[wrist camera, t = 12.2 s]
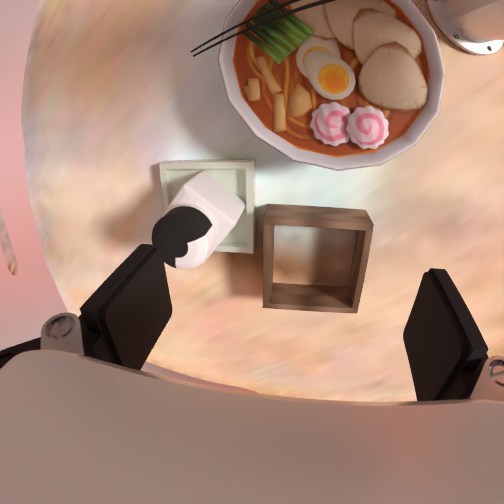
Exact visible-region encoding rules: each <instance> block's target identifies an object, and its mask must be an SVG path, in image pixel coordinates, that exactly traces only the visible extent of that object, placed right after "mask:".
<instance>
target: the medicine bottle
mask: <svg viewBox="0 0 504 504" xmlns="http://www.w3.org/2000/svg"><path fill="white" fill-rule="evenodd" d="M245 206H246V203H245V202H244V201H243V200H242V199H240V198H239V197H238V196H237V195H235V194H234V193H233V192H232V191H230V190H229V189H228V188H226V187H225V186H224V185H223V184H221V183H220V182H219V181H217V180H216V179H215V178H214V177H212V176H211V175H210V174H208V173H207V172H206V171H201V172H200V173H198V174H197V175H196V176H194V177H193V178H191V179H190V180H189V181H187V182H186V183H184V184H183V185H182V187H181V188H180V190H179V191H178V193H177V194H176V196H175V197H174V199H173V200H172V202H171V203H170V205H169V206H168V208H167V209H166V211H165V212H164V214H163V215H162V217H161V219H160V220H159V221H158V222H157V223H156V224H155V226H154V228H153V231H152V243H153V245H156V246H157V247H158V249H160V250H161V251H162V253H163V259H164V262H165V263H166V264H168V265H170V266H172V267H174V268H177V269H184V270H186V269H192V268H195V267H197V266H199V265H202V264H203V263H204V262H205V261H206V260H207V259H208V257H209V256H210V255H211V254H212V252H213V251H214V250H215V249H216V248H217V246H218V245H219V244H220V243H221V242H222V241H223V239H224V238H225V237H226V236H227V235H228V233H229V232H230V231H231V230H232V229H233V227H234V226H235V225H236V223H237V221H238V219H239V218H240V216H241V214H242V212H243V210H244V208H245Z"/></svg>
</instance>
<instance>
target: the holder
mask: <svg viewBox="0 0 504 504" xmlns="http://www.w3.org/2000/svg"><path fill="white" fill-rule="evenodd" d="M274 225H287V226H304V227H320V228H336V229H350V230H357V235H356V242H355V249H354V256H353V262H352V268H351V274H350V280H349V286H348V287H331V286H314V285H298V284H283V283H273V253H274ZM373 225H374V224H373V223H372V221H371V219H370V217H369V215H368V213H367V212H366V210H359V209H346V208H332V207H316V206H300V205H281V204H268V206H267V209H266V212H265V215H264V232H263V308H273V309H287V310H301V311H318V312H337V313H357V311H358V306H359V302H360V297H361V292H362V288H363V283H364V278H365V272H366V267H367V262H368V256H369V250H370V245H371V238H372V232H373Z"/></svg>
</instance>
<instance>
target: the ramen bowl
mask: <svg viewBox="0 0 504 504" xmlns="http://www.w3.org/2000/svg"><path fill="white" fill-rule="evenodd" d="M220 36H222V39H221V41H219V42H217V43H215V44H213V45H211V46H209V47H208V48H206V49H204V50H202V51H200V52H198V53H197V54H195V55H193V57H194V56H196V55H198V54H200V53H202V52H204V51H206V50H208V49H210V48H212V47H214V46H216V45H218V44H220V43H221V45H220V51H219V57H218V62H219V66H220V70H221V74H222V78H223V82H224V86H225V90H226V94H227V98H228V101H229V102H230V104H231V105H232V106H233V108H234V109H235V110H236V111H237V113H238V114H239V115H240V117H241V118H242V119H243V120H244V122H245V123H246V124H247V126H248V127H249V128H250V130H251V131H252V132H253V134H254V135H255V136H256V137H258V138H259V139H261V140H262V141H264V142H265V143H267V144H269V145H270V146H272V147H273V148H275V149H276V150H278V151H279V152H281V153H282V154H284V155H286V156H287V157H289V158H290V159H292V160H293V161H296V162H301V163H306V164H311V165H315V166H320V167H324V168H328V169H333V170H337V171H339V170H347V169H354V168H362V167H370V166H379V165H382V164H384V163H385V162H387V161H389V160H390V159H392V158H394V157H395V156H397V155H399V154H400V153H402V152H404V151H406V150H407V149H409V148H411V147H412V146H414V145H416V143H417V142H418V141H419V139H420V138H421V137H422V135H423V134H424V132H425V131H426V130H427V128H428V127H429V125H430V124H431V123H432V121H433V120H434V118H435V117H436V116H437V114H438V113H439V108H440V103H441V97H442V91H443V85H444V79H445V70H444V65H443V61H442V56H441V52H440V48H439V44H438V40H437V36H436V33H435V32H434V30H433V29H432V27H431V26H430V24H429V23H428V21H427V20H426V19H425V17H424V16H423V14H422V13H421V12H420V10H419V9H418V8H417V6H416V5H415V4H414V2H413V1H412V0H239V2H238V3H237V4H236V6H235V7H234V8H233V10H232V11H231V13H230V14H229V15H228V17H227V18H226V20H225V22H224V28H223V33H221V34H219V35H217V36H215V37H214V38H212V39H210V40H209V41H207V42H205V43H203V44H202V45H200V46H198V47H197V48H195V49H194V50H192V51H191V52H193V51H195V50H197V49H198V48H200V47H202V46H204V45H205V44H207V43H209V42H211V41H213V40H214V39H216V38H218V37H220Z"/></svg>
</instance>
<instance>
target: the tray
mask: <svg viewBox="0 0 504 504" xmlns="http://www.w3.org/2000/svg"><path fill="white" fill-rule="evenodd" d="M159 169H160V180H161V190H162V199H163V208H164V212H165V211H166V209H167V208H168V206H169V205H170V203H171V202H172V200H173V199H174V197H175V196H176V194H177V193H178V191H179V190H180V188H181V187H182V185H183V184H184V183H186V182H187V181H189V180H190V179H191V178H193V177H194V176H196V175H197V174H198V173H200V172H201V171H206V172H207V173H208V174H210V175H211V176H212V177H214V178H215V179H216V180H217V181H219V182H220V183H221V184H223V185H224V186H225V187H226V188H228V189H229V190H230V191H232V192H233V193H234V194H235V195H237V196H238V197H239V198H240V199H242V200H243V201H244V202H245V203H246V206H245V208H244V210H243V212H242V214H241V216H240V218H239V219H238V221H237V223H236V225H235V226H234V227H233V229H232V230H231V231H230V232H229V233H228V235H227V236H226V237H225V238H224V239H223V241H222V242H221V243H220V244H219V245H218V246H217V248H216V249H215V250H214V251H221V252H237V253H254V250H255V160H177V161H164V162H162V163H160V164H159Z"/></svg>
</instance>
